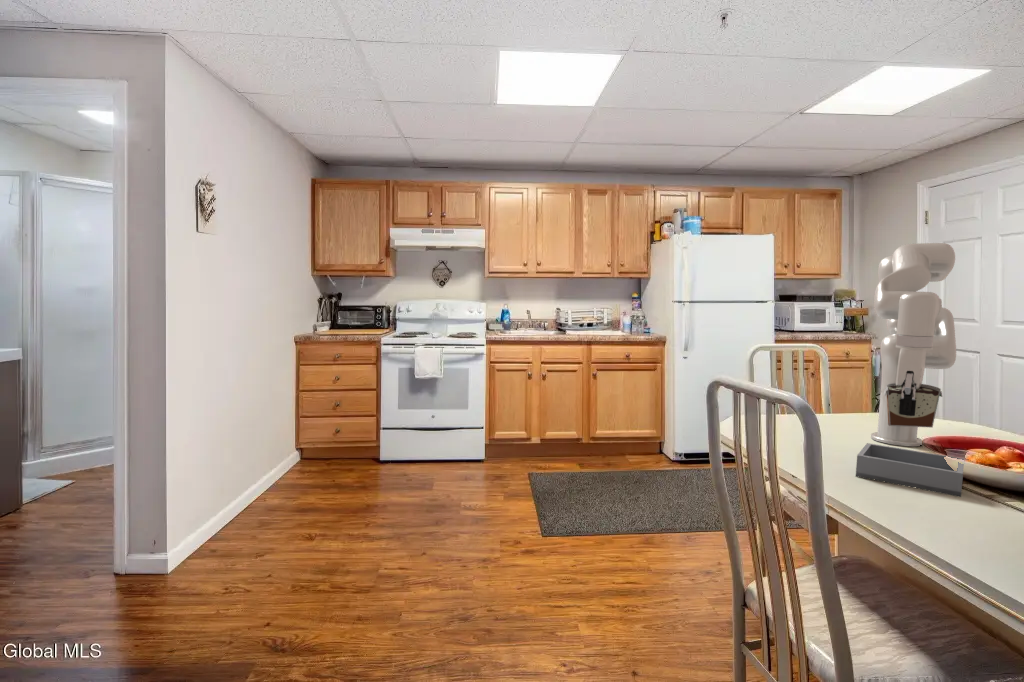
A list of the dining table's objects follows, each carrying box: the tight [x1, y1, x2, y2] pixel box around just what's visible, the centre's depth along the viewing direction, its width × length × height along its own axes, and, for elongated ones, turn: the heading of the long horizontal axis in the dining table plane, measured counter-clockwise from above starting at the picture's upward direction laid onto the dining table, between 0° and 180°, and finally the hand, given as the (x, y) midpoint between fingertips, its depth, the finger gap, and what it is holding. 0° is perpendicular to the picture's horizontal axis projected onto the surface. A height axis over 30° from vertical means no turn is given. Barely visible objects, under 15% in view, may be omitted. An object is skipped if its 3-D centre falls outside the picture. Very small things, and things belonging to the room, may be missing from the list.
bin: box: [855, 442, 965, 498], centre depth 127 cm, size 15×19×5 cm
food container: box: [884, 383, 943, 428], centre depth 140 cm, size 12×6×10 cm, turn 74°
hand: (908, 411), depth 139 cm, fingers closed on food container, 6 cm apart
